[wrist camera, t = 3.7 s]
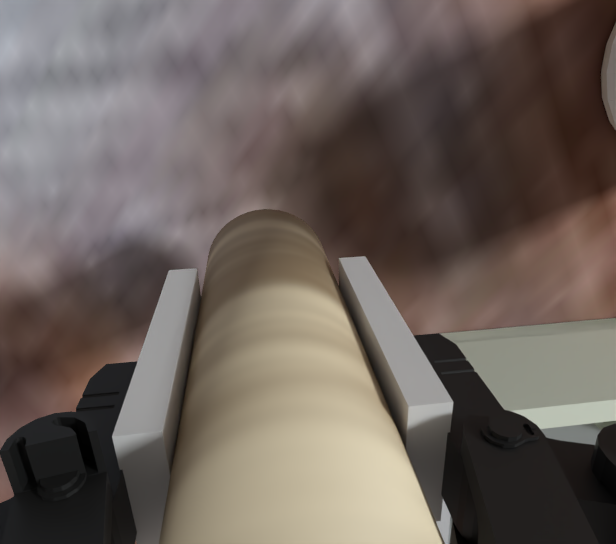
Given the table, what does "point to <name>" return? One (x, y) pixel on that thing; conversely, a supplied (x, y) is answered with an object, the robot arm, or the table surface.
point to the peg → (285, 407)
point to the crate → (547, 377)
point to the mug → (609, 78)
